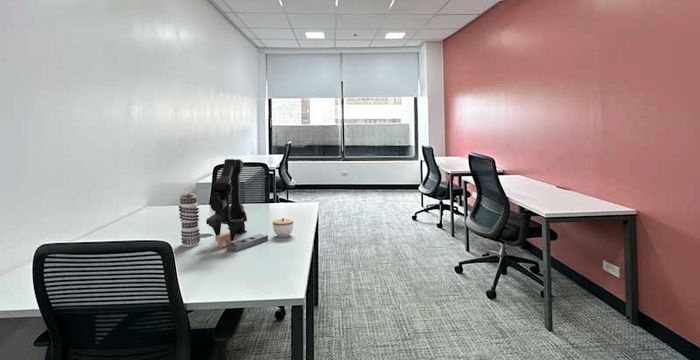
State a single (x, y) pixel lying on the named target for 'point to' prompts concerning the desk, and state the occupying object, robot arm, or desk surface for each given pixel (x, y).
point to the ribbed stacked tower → (189, 219)
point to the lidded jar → (283, 227)
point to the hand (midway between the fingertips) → (225, 239)
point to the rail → (247, 242)
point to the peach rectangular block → (223, 239)
